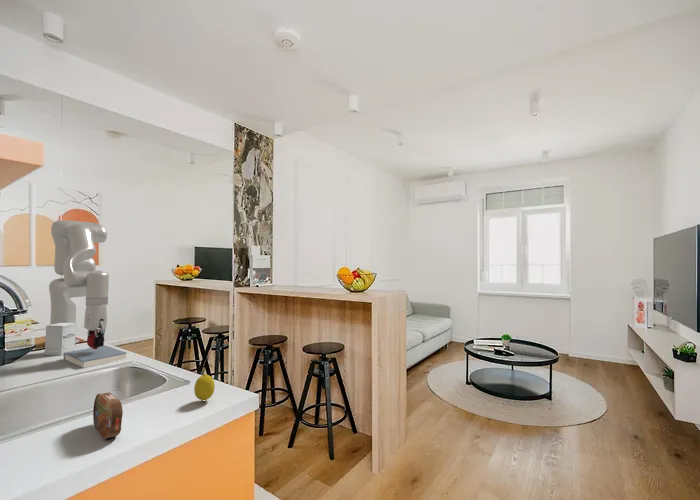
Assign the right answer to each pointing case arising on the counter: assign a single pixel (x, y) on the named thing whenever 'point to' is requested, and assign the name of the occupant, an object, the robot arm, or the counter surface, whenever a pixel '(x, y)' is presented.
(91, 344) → the onion
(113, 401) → the tin
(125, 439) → the counter surface
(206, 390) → the lemon
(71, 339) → the supplement box
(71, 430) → the counter surface
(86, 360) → the book
